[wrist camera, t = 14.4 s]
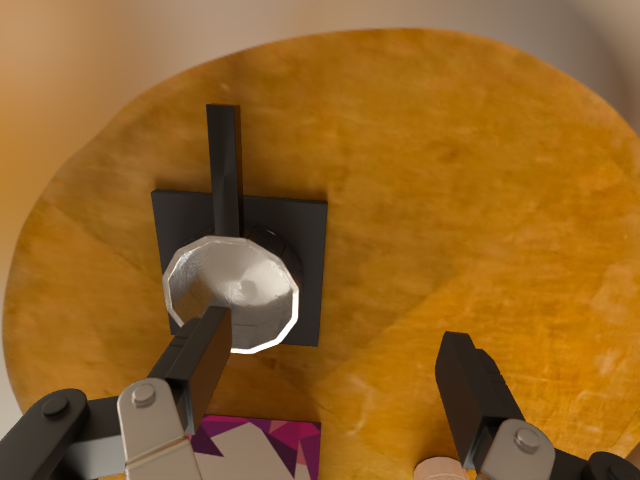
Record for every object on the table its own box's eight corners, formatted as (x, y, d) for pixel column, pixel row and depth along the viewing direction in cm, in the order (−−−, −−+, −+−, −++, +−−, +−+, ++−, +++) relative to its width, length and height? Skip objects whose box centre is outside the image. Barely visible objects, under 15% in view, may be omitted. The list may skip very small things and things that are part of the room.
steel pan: (301, 330, 37) (296, 358, 33) (188, 321, 37) (171, 347, 33) (310, 107, 28) (305, 110, 24) (162, 98, 28) (135, 99, 24)
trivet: (155, 189, 32) (150, 192, 31) (327, 201, 32) (327, 204, 31) (175, 329, 39) (171, 334, 38) (318, 340, 38) (317, 346, 37)
